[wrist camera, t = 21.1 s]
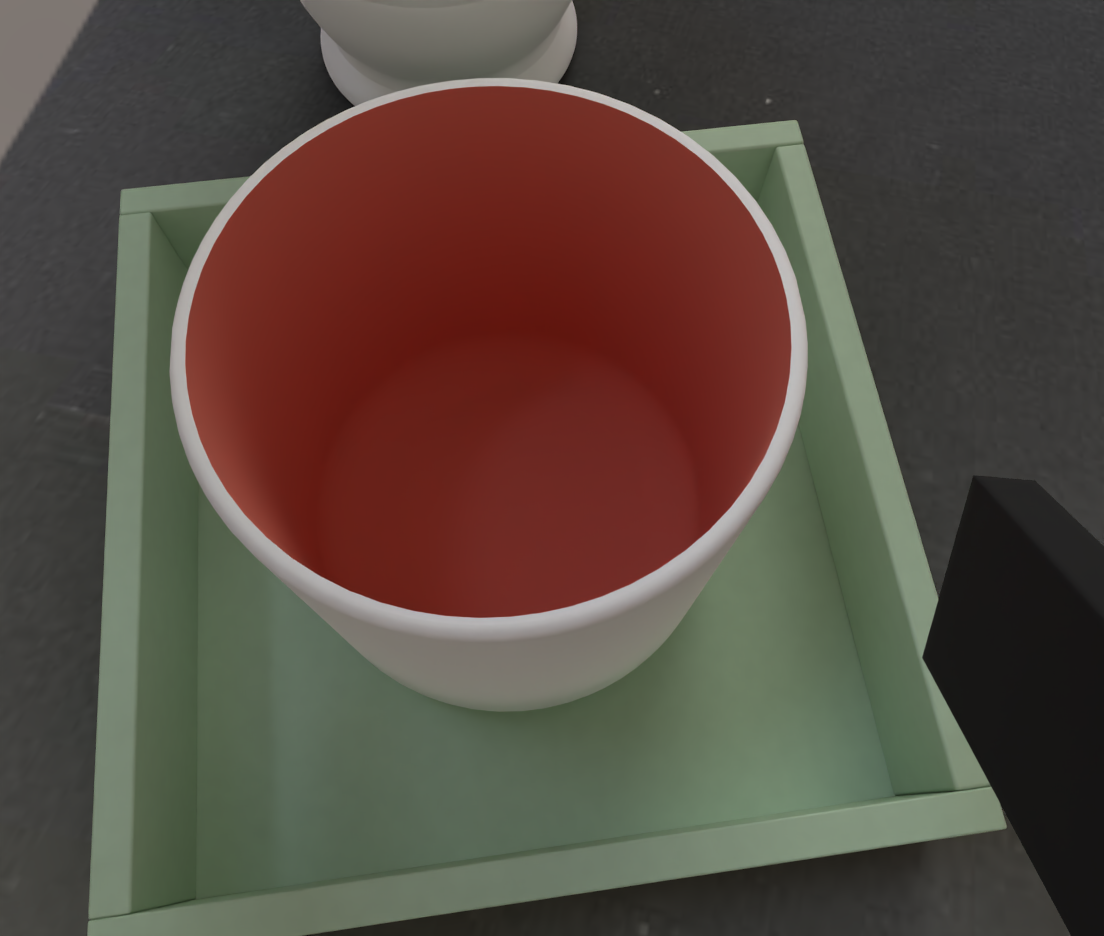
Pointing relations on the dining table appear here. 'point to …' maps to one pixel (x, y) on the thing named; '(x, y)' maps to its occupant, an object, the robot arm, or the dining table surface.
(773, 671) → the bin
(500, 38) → the jar
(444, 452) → the cup
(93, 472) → the dining table surface
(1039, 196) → the dining table surface
